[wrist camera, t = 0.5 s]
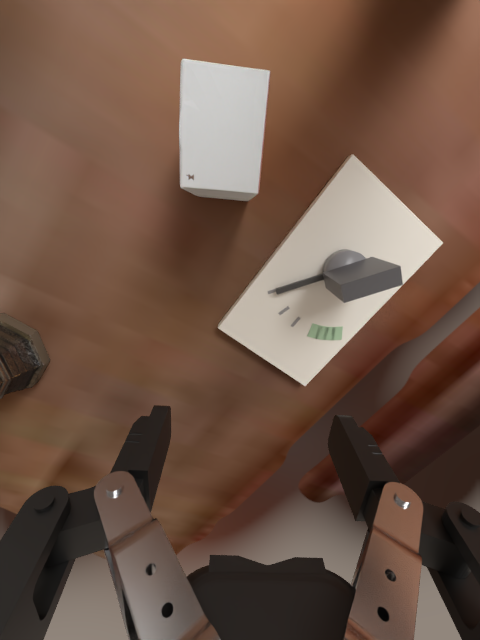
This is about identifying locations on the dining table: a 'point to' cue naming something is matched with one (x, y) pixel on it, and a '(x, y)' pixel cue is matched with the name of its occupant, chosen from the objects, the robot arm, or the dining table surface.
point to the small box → (222, 129)
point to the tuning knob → (353, 276)
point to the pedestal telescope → (20, 355)
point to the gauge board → (308, 260)
